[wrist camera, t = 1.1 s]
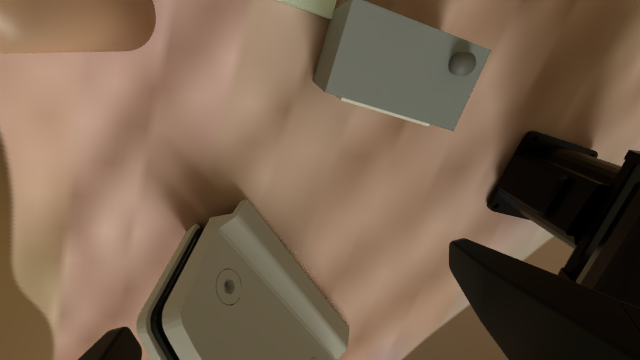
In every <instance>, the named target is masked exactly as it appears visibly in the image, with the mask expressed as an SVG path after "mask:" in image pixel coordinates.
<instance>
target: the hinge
mask: <svg viewBox="0 0 640 360" xmlns="http://www.w3.org/2000/svg"><path fill="white" fill-rule="evenodd" d="M137 333H138V335H139V337H140V339H141V341H142V343H143V345H144V347H145V348H146V350H147V352H148V354H149V356H150V357H151V359H152V360H337V359H338V358H339V357H340V356H341V355H342V354H343V353H344V352H345V351H346V349H347V347H348V339H349V328H348V326H347V325H346V324H345V322H344V321H343V320H342V319H341V317H340V316H339V315H338V314H337V312H336V311H335V310H334V308H333V307H332V306H331V305H330V303H329V302H328V301H327V300H326V298H325V297H324V296H323V294H322V293H321V292H320V291H319V289H318V288H317V287H316V286H315V284H314V283H313V282H312V280H311V279H310V278H309V277H308V275H307V274H306V273H305V272H304V270H303V269H302V268H301V266H300V265H299V264H298V263H297V261H296V260H295V259H294V258H293V256H292V255H291V254H290V252H289V251H288V250H287V249H286V247H285V246H284V245H283V244H282V242H281V241H280V240H279V238H278V237H277V236H276V235H275V233H274V232H273V231H272V230H271V228H270V227H269V226H268V224H267V223H266V222H265V221H264V219H263V218H262V217H261V216H260V214H259V213H258V212H257V210H256V209H255V208H254V207H253V205H252V204H251V203H250V202H249V200H248V199H244V200H242V201H240V202H239V204H238V206H237V207H236V209H235V210H234V212H233V213H232V214H227V215H221V216H216V217H210V219H209V221H208V223H207V225H206V227H205V229H203V228H202V227H200V226H199V225H198V224H197V223H196V224H195V225H193V226H192V227H191V228H190V229H189V230H188V231H187V232H186V233H185V235H184V237H183V239H182V240H181V242H180V244H179V246H178V247H177V249H176V251H175V253H174V254H173V256H172V258H171V260H170V261H169V263H168V265H167V267H166V268H165V270H164V272H163V274H162V275H161V277H160V279H159V281H158V282H157V284H156V286H155V288H154V289H153V291H152V293H151V295H150V296H149V298H148V300H147V302H146V303H145V305H144V307H143V308H142V310H141V312H140V314H139V316H138V319H137Z"/></svg>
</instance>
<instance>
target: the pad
mask: <svg viewBox="0 0 640 360" xmlns="http://www.w3.org/2000/svg"><path fill="white" fill-rule="evenodd" d="M277 1H280V2H283V3H286V4H288V5H291V6H294V7H296V8H299V9H302V10H305V11H307V12H310V13H313V14H316V15H318V16H321V17H324V18H327V19H329V20H331V19H332V15H333V12H334V8H335V5H336V1H337V0H277Z"/></svg>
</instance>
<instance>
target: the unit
mask: <svg viewBox="0 0 640 360" xmlns="http://www.w3.org/2000/svg"><path fill="white" fill-rule="evenodd" d="M490 52H491V50H489V49H487V48H484V47H482V46H479V45H477V44H474V43H471V42H469V41H466V40H464V39H461V38H459V37H456V36H454V35H451V34H448V33H446V32H443V31H441V30H438V29H436V28H433V27H431V26H428V25H426V24H423V23H420V22H418V21H415V20H413V19H410V18H408V17H405V16H403V15H400V14H397V13H395V12H392V11H390V10H387V9H385V8H382V7H380V6H377V5H375V4H372V3H369V2H367V1H364V0H348V1H346V2H345V3H343V4H342V5H340V6H339V7H337V8H336V9H334V12H333V15H332V19H331V20H330V22H329V26H328V30H327V33H326V37H325V40H324V44H323V47H322V51H321V54H320V58H319V61H318V65H317V69H316V72H315V76H314V79H313V82H314V83H315V84H316V85H317V86H319V87H320V88H321V89H322V90H323V91H324V92H326V93H329V94H332V95H335V96H336V97H337V98H339V99H340V100H342V101H345V102H348V103H352V104H355V105H358V106H362V107H365V108H368V109H372V110H375V111H378V112H382V113H385V114H388V115H392V116H395V117H398V118H402V119H405V120H408V121H412V122H415V123H418V124H422V125H425V126H428V127H429V125H430V124H431V125H435V126H438V127H441V128H444V129H448V130H451V131H454V129H455V127H456V125H457V122H458V120H459V118H460V116H461V114H462V112H463V110H464V108H465V105H466V103H467V101H468V99H469V97H470V95H471V93H472V90H473V88H474V86H475V84H476V82H477V80H478V78H479V76H480V73H481V71H482V69H483V67H484V65H485V63H486V61H487V58H488V56H489V54H490Z"/></svg>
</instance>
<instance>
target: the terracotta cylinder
mask: <svg viewBox="0 0 640 360" xmlns="http://www.w3.org/2000/svg"><path fill="white" fill-rule="evenodd" d="M155 19H156V17H155V9H154V5H153V2H152V0H0V54H4V53H56V52H109V51H131V50H135V49H138V48H140V47H141V46H143V45H144V44H145V43H146V42H147V41H148V40H149V39H150V37H151V36H152V34H153V31H154V28H155Z"/></svg>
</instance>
